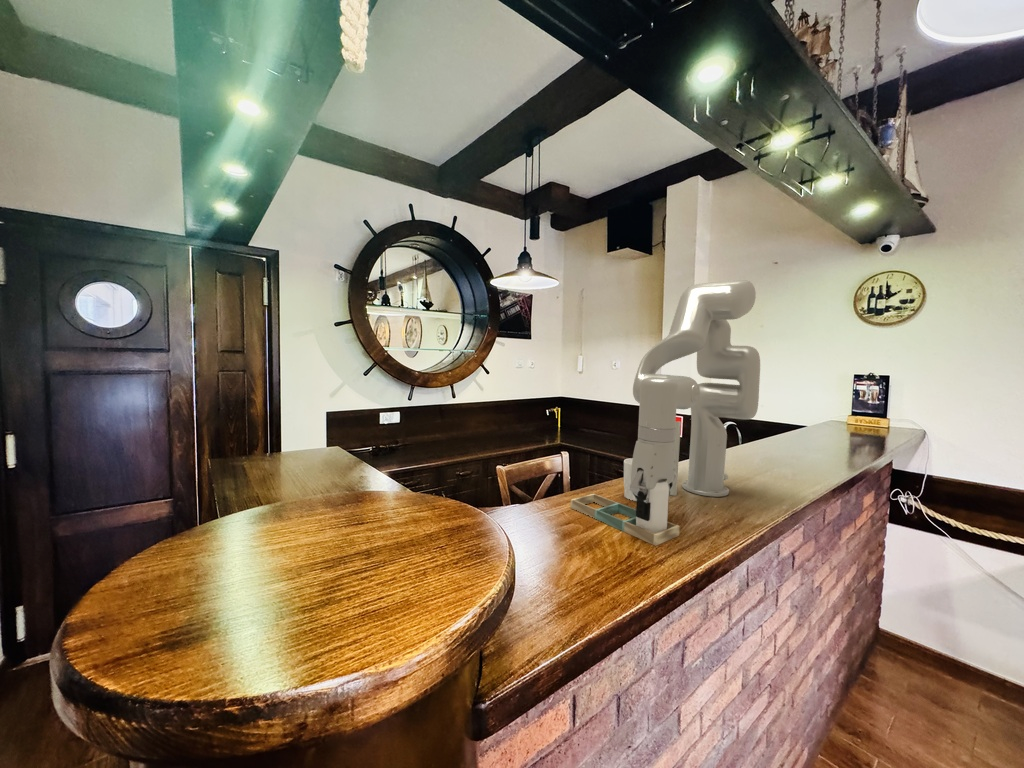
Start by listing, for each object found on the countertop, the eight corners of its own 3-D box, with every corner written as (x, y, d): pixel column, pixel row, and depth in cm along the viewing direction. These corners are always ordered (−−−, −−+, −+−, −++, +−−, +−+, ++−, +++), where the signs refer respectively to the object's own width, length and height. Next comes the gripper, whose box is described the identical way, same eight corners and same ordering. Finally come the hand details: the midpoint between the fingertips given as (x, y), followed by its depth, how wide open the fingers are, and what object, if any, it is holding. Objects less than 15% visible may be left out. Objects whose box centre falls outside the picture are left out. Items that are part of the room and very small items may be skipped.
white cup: (648, 493, 118) (650, 459, 117) (654, 503, 110) (657, 466, 110) (619, 492, 119) (621, 457, 118) (624, 501, 111) (626, 464, 110)
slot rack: (593, 501, 110) (593, 493, 110) (679, 535, 91) (679, 526, 91) (570, 508, 105) (570, 499, 105) (655, 545, 86) (656, 535, 86)
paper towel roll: (642, 489, 122) (646, 416, 120) (660, 487, 124) (664, 416, 122) (658, 497, 115) (662, 421, 113) (676, 496, 117) (681, 420, 115)
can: (629, 527, 93) (631, 475, 92) (651, 522, 96) (653, 471, 95) (650, 539, 88) (653, 484, 86) (673, 534, 90) (676, 480, 89)
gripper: (663, 427, 98) (659, 502, 100) (616, 435, 88) (612, 518, 90) (694, 433, 92) (689, 512, 94) (647, 442, 82) (642, 531, 84)
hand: (652, 514), depth 92 cm, fingers closed on can, 5 cm apart
